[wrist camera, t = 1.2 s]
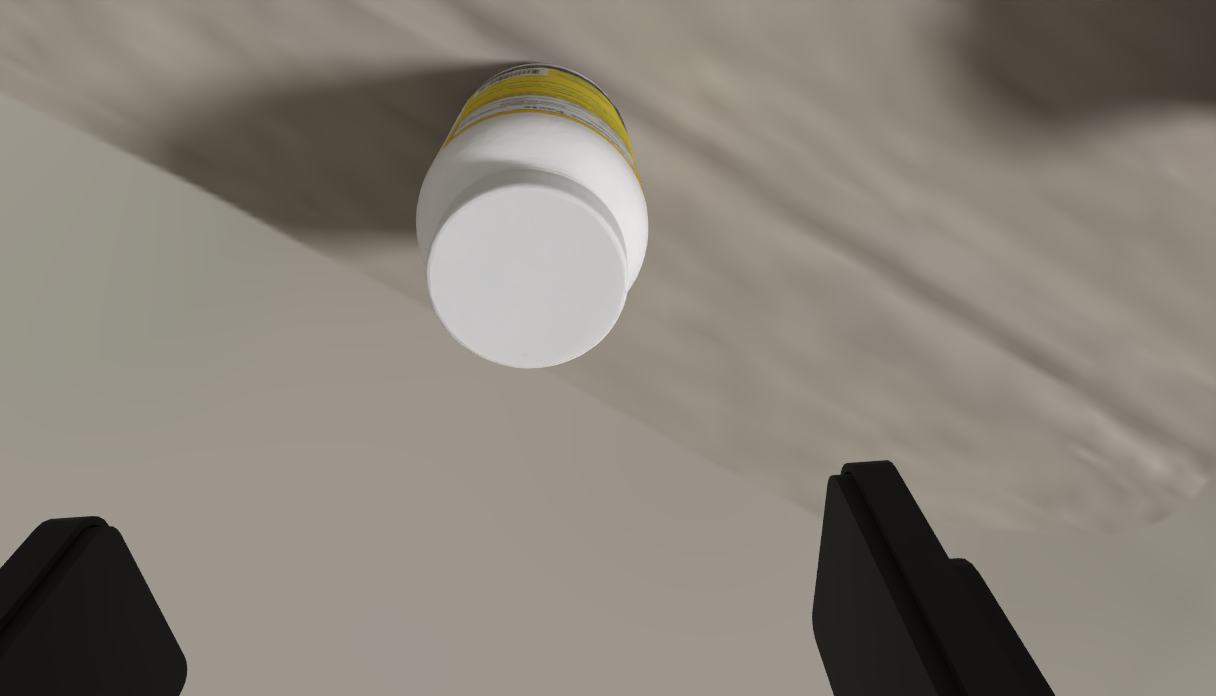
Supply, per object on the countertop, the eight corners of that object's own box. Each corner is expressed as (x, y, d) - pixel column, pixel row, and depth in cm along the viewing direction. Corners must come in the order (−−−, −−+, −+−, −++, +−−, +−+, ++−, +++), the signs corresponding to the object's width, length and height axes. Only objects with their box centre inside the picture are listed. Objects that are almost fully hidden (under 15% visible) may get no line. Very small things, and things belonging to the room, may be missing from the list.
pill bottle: (559, 262, 29) (552, 437, 19) (421, 164, 27) (337, 307, 17) (665, 136, 26) (716, 264, 17) (524, 18, 24) (491, 88, 15)
